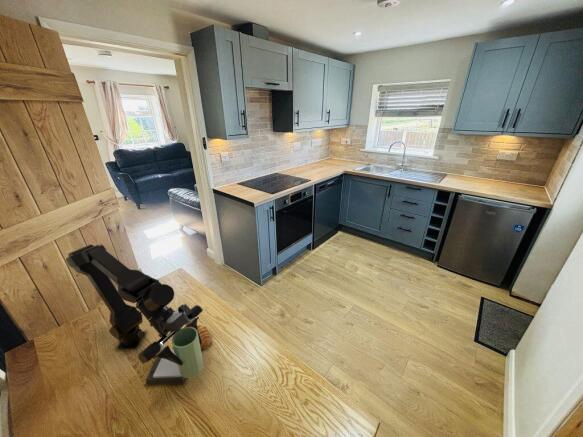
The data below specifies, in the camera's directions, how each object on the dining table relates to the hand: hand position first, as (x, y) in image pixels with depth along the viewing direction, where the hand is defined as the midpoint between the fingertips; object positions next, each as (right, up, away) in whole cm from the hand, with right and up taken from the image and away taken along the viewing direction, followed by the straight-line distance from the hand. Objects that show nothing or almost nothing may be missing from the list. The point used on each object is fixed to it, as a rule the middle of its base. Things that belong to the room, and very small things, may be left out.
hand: (191, 354), depth 69 cm
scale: (-10, -10, +9) cm, 17 cm away
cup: (-1, -6, +3) cm, 7 cm away
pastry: (-5, -6, +20) cm, 21 cm away
